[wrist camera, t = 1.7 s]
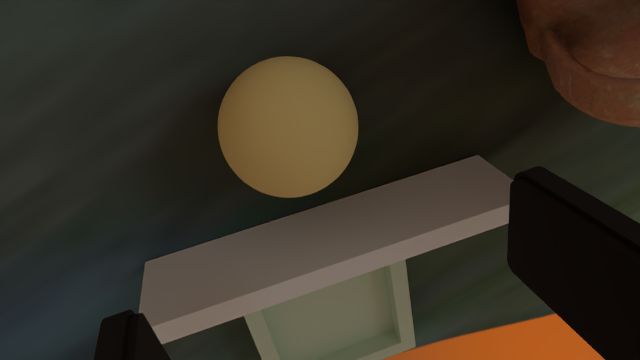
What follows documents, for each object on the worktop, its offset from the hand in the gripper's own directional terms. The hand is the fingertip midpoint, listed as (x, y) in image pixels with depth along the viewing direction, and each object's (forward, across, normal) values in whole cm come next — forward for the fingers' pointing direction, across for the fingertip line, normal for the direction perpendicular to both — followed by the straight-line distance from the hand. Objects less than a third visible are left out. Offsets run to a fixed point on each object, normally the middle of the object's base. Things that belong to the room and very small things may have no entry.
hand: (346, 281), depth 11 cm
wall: (+13, -2, +7) cm, 14 cm away
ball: (+10, -1, 0) cm, 10 cm away
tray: (+13, -1, +14) cm, 19 cm away
